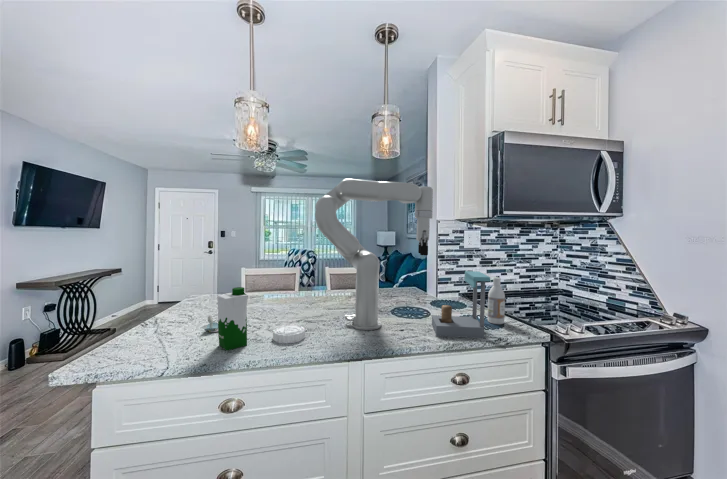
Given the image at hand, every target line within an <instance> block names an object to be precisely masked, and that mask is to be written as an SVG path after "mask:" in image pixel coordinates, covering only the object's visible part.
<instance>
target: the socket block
mask: <svg viewBox="0 0 727 479" xmlns="http://www.w3.org/2000/svg"><path fill="white" fill-rule="evenodd" d="M441 317H442V315H434V314H432V315H431V326H432V328H433V331H434V334H435V336H436V337H450V338H451V337H452V338H455V337H456V338H473V339H474V338H475V339H476V338H478V339H485V326H484V327H480V320H478V318H476V319H474V318H472V317H473V316H461V315H460V316H457V315H456V316H455V315H452V323H441Z"/></svg>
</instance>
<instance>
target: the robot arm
mask: <svg viewBox="0 0 727 479" xmlns="http://www.w3.org/2000/svg"><path fill="white" fill-rule="evenodd" d="M433 198H434V190H433V188H432V187H431V186H429V185H428V186H426V185H425V186H420V185H417V184H415V183H410V182H401V181H384V180H383V181H382V180H381V181H380V180H379V181H378V180H377V181H376V180H366V179H358V178H357V179H356V178H344V179H342V180H341V181H339V183H338V184H337V185H336V186H334V187H333V188H331V190H330V191H328V192H326V194H325V195H323V196H321V197H319V198H318V200H316V203H315V206H314V208H315V213H314V217H315V223H316V225H317V228H318V230H319V231H320V233H321V234H322V235H323V236H324V237H325V239H327V240H328V241H329V242H330V243H331V244H332V245H333V246H334V247H335V249H336V251H337V252H338V253H339V255H340V256H341V257H343V259H345V260H346V261H347V263H349V264H350V265H351V266H352V267H353V268H354V269H356V273H355V313H354V314H352V315H350V314H345V318H344V319H345V320H346V321H347V322H351V321H352V322H351V326H352V327H353V328H354V329H356V330H362V331H375V330H377V329H380V328H381V327H382V322H381V321H380V320H379V308H378V307H379V276H380V275H379V273H380V268H381V267H380V266H381V265H380V259H379V258H378V256H377V255H376V254H375V253H373V252H371V251H368V250H367V249H366V248H365V247H364V246H363V245H362V244H360V241H359V238H357V237H356V236H355V235H354V234H353V233H352V232H350V231H349V230H348V229H347V227H345V225H344V224H342V222H340V220H339V218H338V217H337V211H338V210H339V209H341V208H342V207H343V206H344V205H345V204H347V203H348V202H349V201H350V200H353V201H364V202H365V201H366V202H377V203H379V202H386V201H398V202H399V203H400V204H406V205H407V204H414V218H415V219H417V220H416V235H415V237H416V238H415V240H416V241H417V242H418V245H417V246H418V249H417V250H418V254H419V255H420V256H428V255H429V245H428V244H429V241H430V230H431V229H430V222H431V220H432V219H433V206H434V205H433V202H434V200H433Z"/></svg>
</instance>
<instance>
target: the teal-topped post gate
mask: <svg viewBox="0 0 727 479" xmlns="http://www.w3.org/2000/svg"><path fill="white" fill-rule="evenodd" d="M464 281H465V283H468V285H470V286H471V287H472V316H471V317H472V318H474V319H478V318H477V316H478V315H477V310H478V309H477V306H478V282H480V302H479V304H480V305H479V322H480V327H484V328H485V309H486V308H485V306H486V282H491V277H490V276H489V275H486V274H485V273H483V272H482V271H471V270H465V271H464Z"/></svg>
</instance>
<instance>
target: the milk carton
mask: <svg viewBox="0 0 727 479" xmlns="http://www.w3.org/2000/svg"><path fill="white" fill-rule="evenodd" d="M231 291H232V292H227V293H224V294H218V295H216V296H217V323H218V328H217V330H218V332H217V334H218V336H217V337H218V345H219V346H220V347H221V348H222V349H223V350H225V351H231V349H232V350H234V349H235V350H236V349H238V348H242V347H246V346H248V314H247V313H248V300H249V295H248V294H246V293H245V287H243V286H240V287H239V286H237V287H233V288H232V290H231Z"/></svg>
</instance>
